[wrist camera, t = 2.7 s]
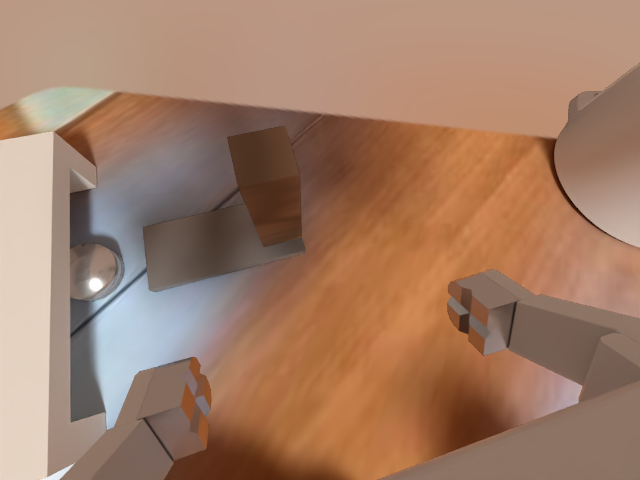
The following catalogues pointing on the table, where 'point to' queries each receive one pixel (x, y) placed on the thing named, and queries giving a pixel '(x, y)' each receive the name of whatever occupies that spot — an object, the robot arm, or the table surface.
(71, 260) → the steel bowl
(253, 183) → the brown l-shaped block
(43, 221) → the low shelf
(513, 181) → the table surface
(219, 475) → the table surface
